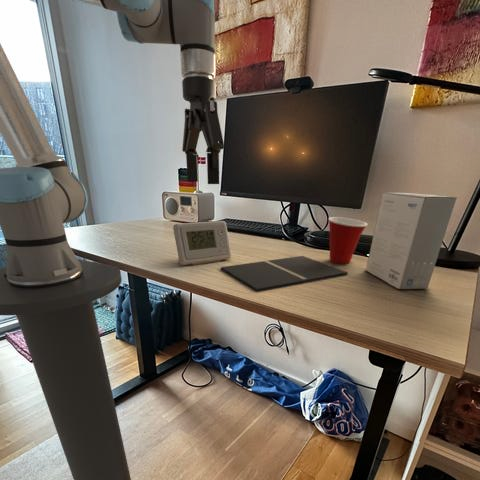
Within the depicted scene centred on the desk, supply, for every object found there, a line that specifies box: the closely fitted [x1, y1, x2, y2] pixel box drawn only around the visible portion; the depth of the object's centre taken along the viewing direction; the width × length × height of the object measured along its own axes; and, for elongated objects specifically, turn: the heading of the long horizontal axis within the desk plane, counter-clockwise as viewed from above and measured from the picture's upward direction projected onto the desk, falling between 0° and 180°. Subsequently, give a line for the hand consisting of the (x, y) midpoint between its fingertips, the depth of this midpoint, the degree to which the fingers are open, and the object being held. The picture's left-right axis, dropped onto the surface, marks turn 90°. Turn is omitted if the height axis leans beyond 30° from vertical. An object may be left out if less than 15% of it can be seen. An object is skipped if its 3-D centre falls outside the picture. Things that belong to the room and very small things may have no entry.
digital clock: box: [172, 220, 232, 266], centre depth 84 cm, size 16×9×11 cm, turn 110°
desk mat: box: [220, 255, 348, 292], centre depth 79 cm, size 28×18×1 cm, turn 119°
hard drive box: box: [365, 192, 458, 290], centre depth 71 cm, size 16×8×20 cm, turn 8°
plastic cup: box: [328, 216, 368, 265], centre depth 87 cm, size 11×11×12 cm
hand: (202, 183), depth 77 cm, fingers open, 13 cm apart
